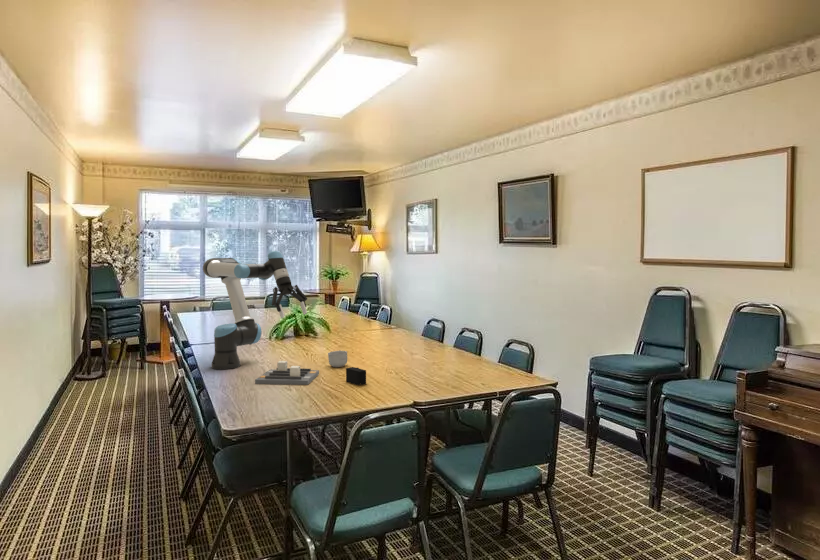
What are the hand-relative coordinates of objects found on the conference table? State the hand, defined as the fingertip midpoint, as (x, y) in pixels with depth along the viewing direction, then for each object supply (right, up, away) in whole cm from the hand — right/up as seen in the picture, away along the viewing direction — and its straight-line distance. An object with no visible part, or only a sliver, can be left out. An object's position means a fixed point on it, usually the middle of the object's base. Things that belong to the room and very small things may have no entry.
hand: (294, 315), depth 264 cm
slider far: (-6, -29, -2) cm, 29 cm away
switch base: (-1, -32, -8) cm, 32 cm away
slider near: (+3, -30, -13) cm, 33 cm away
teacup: (+20, -30, +23) cm, 43 cm away
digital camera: (+34, -32, -15) cm, 50 cm away
